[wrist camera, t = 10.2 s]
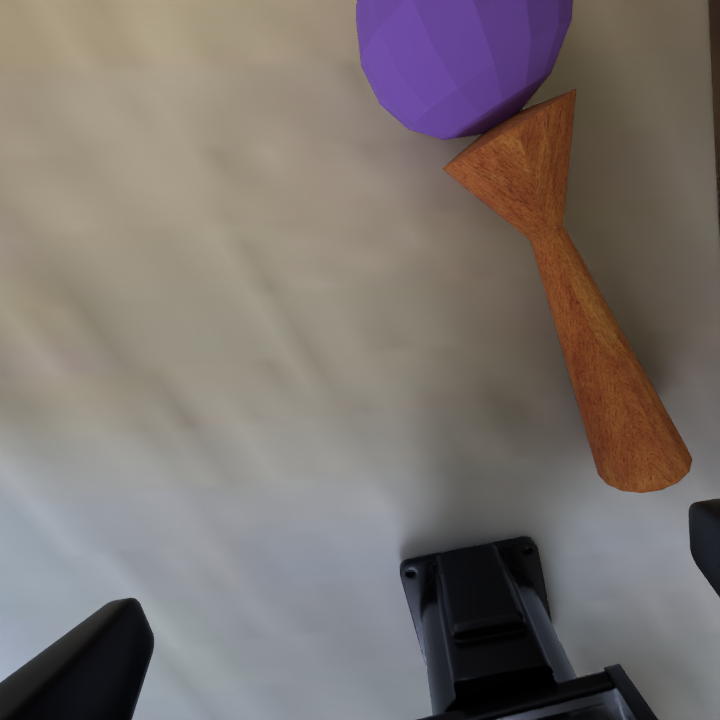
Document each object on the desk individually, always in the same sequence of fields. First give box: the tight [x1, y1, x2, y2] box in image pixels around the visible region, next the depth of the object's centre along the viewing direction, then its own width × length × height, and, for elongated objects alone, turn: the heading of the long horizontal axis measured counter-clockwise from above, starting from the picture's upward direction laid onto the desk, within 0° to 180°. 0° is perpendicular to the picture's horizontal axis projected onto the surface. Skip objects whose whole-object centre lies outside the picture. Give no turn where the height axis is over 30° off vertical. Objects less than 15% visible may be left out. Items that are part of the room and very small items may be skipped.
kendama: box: [356, 0, 692, 493], centre depth 15 cm, size 6×6×20 cm
